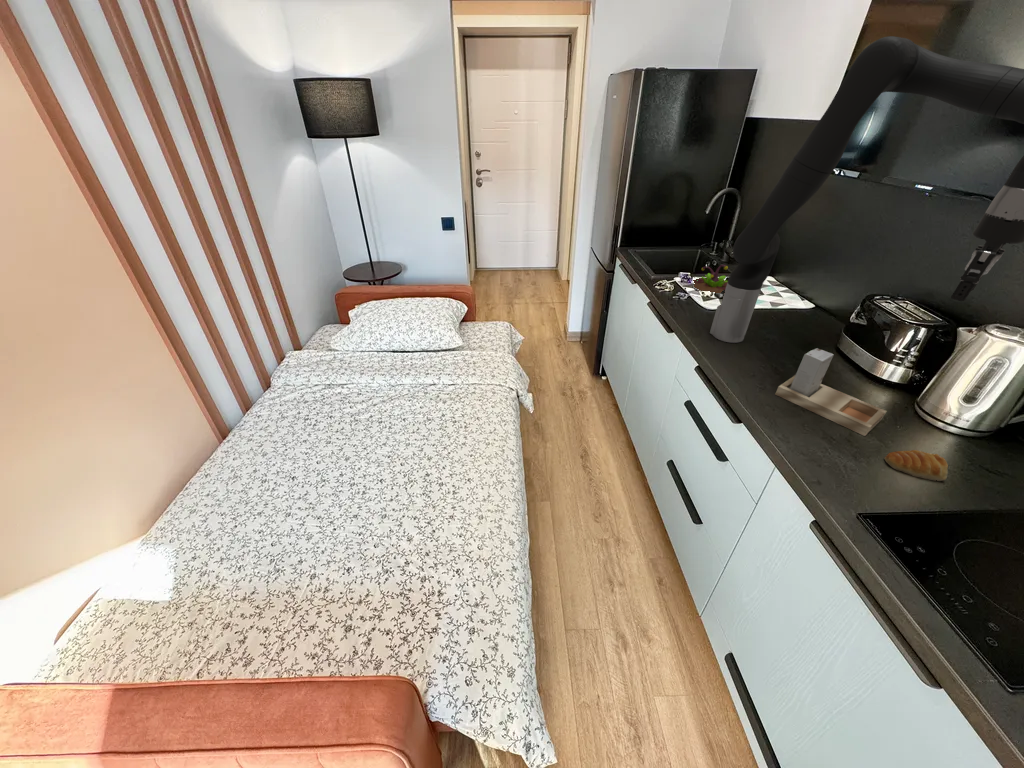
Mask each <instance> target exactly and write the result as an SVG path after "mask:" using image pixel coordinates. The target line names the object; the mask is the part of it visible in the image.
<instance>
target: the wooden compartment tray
mask: <svg viewBox="0 0 1024 768" xmlns="http://www.w3.org/2000/svg"><path fill="white" fill-rule="evenodd" d="M794 378H795V375H793V376H792V377H790V378H789V379H787V380H786V381H785V382H783V383H781V384H780V385H778V386H777V389H776V392H775V393H774V395H776V396H778V397H780V398H782V399H784V400H786V401H789V402H790V403H792V404H795V405H797V406H799V407H801V408H803V409H805V410H808V411H810V412H813V413H814V414H816V415H818V416H821V417H823V418H825V419H827V420H830V421H832V422H833V423H835V424H838V425H840V426H842V427H844V428H847V429H849V430H851V431H853V432H856V433H857V434H860V435H861V436H864V437H865V436H867V435H868V434H869V433H870V431H872V430H873V428H875V427H876V426H877V425H878V423H880V422H881V421H882V420H883V418H884V416H885V415H886V413H887V412H888V411H887V410H886V409H883V408H880V407H878V406H876V405H873V404H871V403H868V402H866V401H863V400H860V399H858V398H856V397H854V396H852V395H849V394H847V393H845V392H842V391H839V390H838V389H835V388H832V387H830V386H828V385H825V384H822V383H821V384H820V386H819V388H818V390H817V392H816V393H815V394H813V395H812V396H811V397H807V396H805V395H803V394H800V393H798V392H796V391H794V390H791V389H790V387H791V385H792V382H793V380H794Z"/></svg>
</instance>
